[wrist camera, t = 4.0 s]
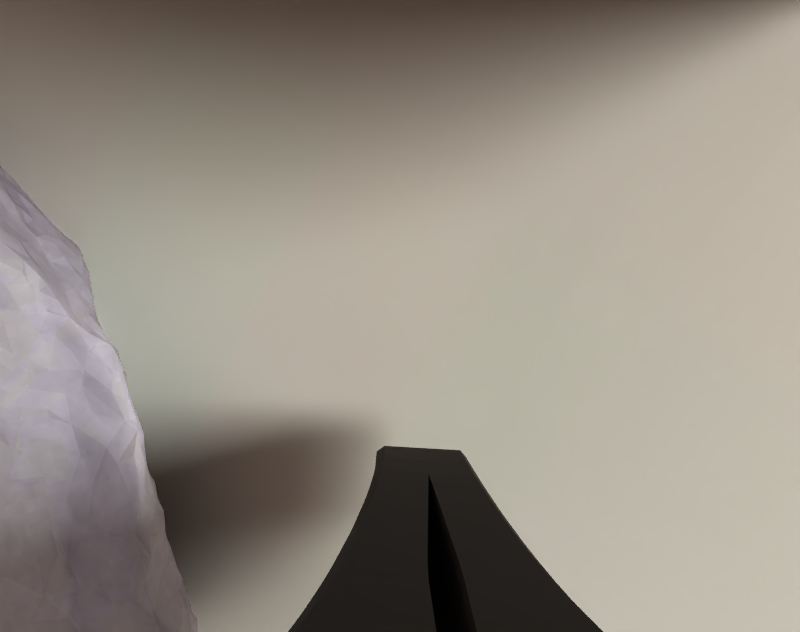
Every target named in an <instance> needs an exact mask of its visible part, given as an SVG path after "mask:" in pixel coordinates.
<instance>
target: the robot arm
mask: <svg viewBox="0 0 800 632" xmlns="http://www.w3.org/2000/svg"><path fill="white" fill-rule="evenodd" d="M288 632H603V631H602V630H601V629H600V628H599V627H598V626H597V625H596V624H595V623H594V622H593V621H592V620H591V619H590V618H589V617H588V616H587V615H586V614H585V613H584V612H583V611H582V610H581V609H580V608H579V607H578V606H577V605H576V604H575V603H574V602H573V601H572V600H571V599H570V598H569V597H568V595H567V594H566V593H565V592H564V591H563V590H562V589H561V588H560V586H559V585H558V584H557V583H556V582H555V581H554V580H553V578H552V577H551V576H550V575H549V574H548V572H547V571H546V570H545V569H544V568H543V566H542V565H541V564H540V563H539V562H538V560H537V559H536V558H535V557H534V555H533V554H532V553H531V552H530V550H529V549H528V548H527V547H526V545H525V544H524V543H523V541H522V540H521V539H520V537H519V536H518V534H517V533H516V532H515V530H514V529H513V528H512V526H511V525H510V524H509V522H508V521H507V520H506V518H505V517H504V515H503V514H502V513H501V511H500V510H499V508H498V507H497V505H496V504H495V502H494V501H493V499H492V498H491V496H490V495H489V493H488V492H487V490H486V489H485V487H484V486H483V484H482V483H481V481H480V480H479V478H478V476H477V475H476V473H475V472H474V470H473V468H472V467H471V465H470V463H469V462H468V460H467V458H466V457H465V456H464V454H463V453H462V452H461V451H460V450H443V449H426V448H409V447H392V446H384V447H383V448H381V449H380V450H378V451H377V456H376V466H375V471H374V475H373V479H372V482H371V485H370V488H369V491H368V494H367V496H366V499H365V501H364V504H363V506H362V508H361V510H360V513H359V515H358V517H357V520H356V522H355V524H354V526H353V528H352V531H351V533H350V535H349V536H348V538H347V540H346V542H345V544H344V546H343V547H342V549H341V551H340V553H339V555H338V557H337V559H336V560H335V562H334V564H333V566H332V568H331V569H330V571H329V573H328V574H327V576H326V578H325V579H324V581H323V582H322V584H321V586H320V587H319V589H318V590H317V592H316V593H315V595H314V596H313V598H312V599H311V601H310V602H309V604H308V605H307V607H306V608H305V610H304V611H303V613H302V614H301V615H300V617H299V618H298V619H297V621H296V622H295V623H294V625H293V626H292V627H291V629H290V630H289V631H288Z"/></svg>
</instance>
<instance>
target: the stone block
mask: <svg viewBox="0 0 800 632" xmlns="http://www.w3.org/2000/svg"><path fill="white" fill-rule="evenodd" d="M0 632H197V619H196V618H195V616H194V615H193V613H192V611H191V607H190V604H189V601H188V598H187V596H186V591H185V586H184V581H183V578H182V576H181V574H180V572H179V570H178V567H177V564H176V561H175V558H174V555H173V552H172V549H171V546H170V544H169V541H168V539H167V536H166V533H165V516H164V509H163V508H162V506H161V504H160V502H159V500H158V497H157V491H156V486H155V481H154V479H153V478H152V477H151V476H150V473H149V470H148V468H147V462H146V454H145V447H144V433H143V430H142V427H141V424H140V422H139V419H138V416H137V413H136V410H135V408H134V406H133V403H132V401H131V399H130V396H129V392H128V388H127V384H126V373H125V372H124V371H123V368H122V365H121V361H120V358H119V354H118V351H117V350H116V349H115V348H114V346H113V345H112V344H111V343H110V342H109V340H108V338H107V337H106V335H105V333H104V331H103V330H102V328H101V326H100V324H99V322H98V319H97V316H96V312H95V308H94V297H93V295H92V290H91V282H90V276H89V272H88V269H87V267H86V265H85V263H84V260H83V255H82V253H81V251H80V249H79V247H78V246H77V245H76V244H75V243H73V242H72V241H71V240H70V239H68V238H67V237H66V236H65V235H64V234H63V233H61V232H60V231H59V230H58V229H57V228H56V227H55V226H54V225H53V224H52V223H51V222H50V221H49V219H48V218H47V217H46V216H45V215H44V214H43V213H42V212H41V211H40V210H39V209H38V208H37V206H36V205H35V204H34V203H33V201H32V200H31V199H30V198H29V196H28V195H27V194H26V193H25V192H24V191H23V190H22V189H21V187H20V186H19V185H18V184H17V183H16V182H15V181H14V180H13V179H12V178H11V177H10V176H9V175H8V174H7V173H6V172H5V171H4V170H3V169H2V168H1V167H0Z"/></svg>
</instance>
